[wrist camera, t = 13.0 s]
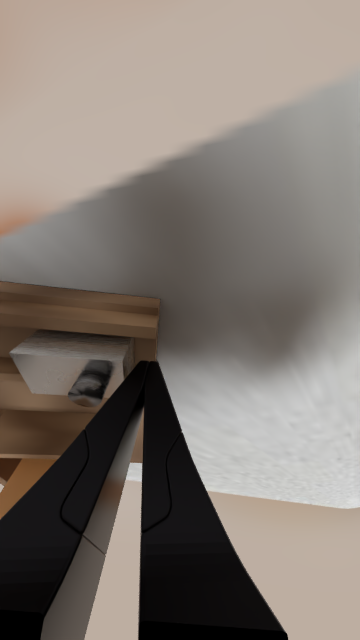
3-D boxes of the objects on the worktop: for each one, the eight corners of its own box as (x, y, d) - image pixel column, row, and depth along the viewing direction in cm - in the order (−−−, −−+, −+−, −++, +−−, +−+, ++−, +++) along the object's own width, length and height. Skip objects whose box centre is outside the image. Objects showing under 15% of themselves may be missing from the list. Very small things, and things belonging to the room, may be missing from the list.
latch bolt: (59, 359, 9) (16, 412, 6) (46, 322, 8) (-14, 370, 5) (134, 365, 9) (120, 416, 7) (134, 330, 8) (115, 379, 6)
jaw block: (58, 449, 15) (-96, 751, 6) (43, 425, 13) (-226, 845, 4) (98, 450, 15) (2, 740, 7) (91, 427, 13) (-69, 822, 4)
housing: (38, 448, 17) (4, 505, 14) (-97, 270, 7) (-332, 315, 4) (149, 451, 18) (143, 505, 15) (160, 298, 8) (149, 355, 5)
